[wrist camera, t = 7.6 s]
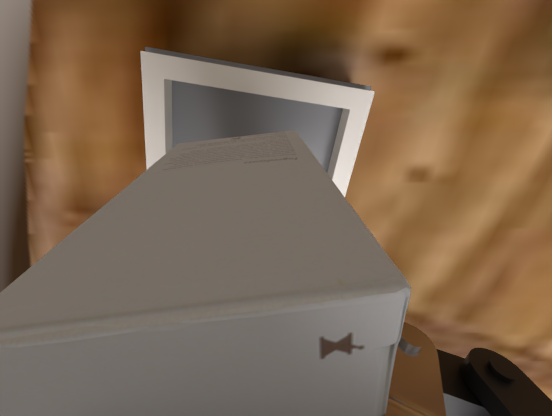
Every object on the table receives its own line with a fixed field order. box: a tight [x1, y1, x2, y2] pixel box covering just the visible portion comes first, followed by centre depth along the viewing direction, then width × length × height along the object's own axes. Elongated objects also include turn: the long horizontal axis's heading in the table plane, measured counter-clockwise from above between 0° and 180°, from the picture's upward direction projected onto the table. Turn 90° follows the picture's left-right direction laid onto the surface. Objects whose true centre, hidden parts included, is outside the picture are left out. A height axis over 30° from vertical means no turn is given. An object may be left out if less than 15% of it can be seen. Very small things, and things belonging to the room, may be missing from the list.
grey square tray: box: [140, 47, 375, 197], centre depth 20 cm, size 14×14×6 cm
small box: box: [0, 130, 411, 416], centre depth 9 cm, size 8×6×10 cm
